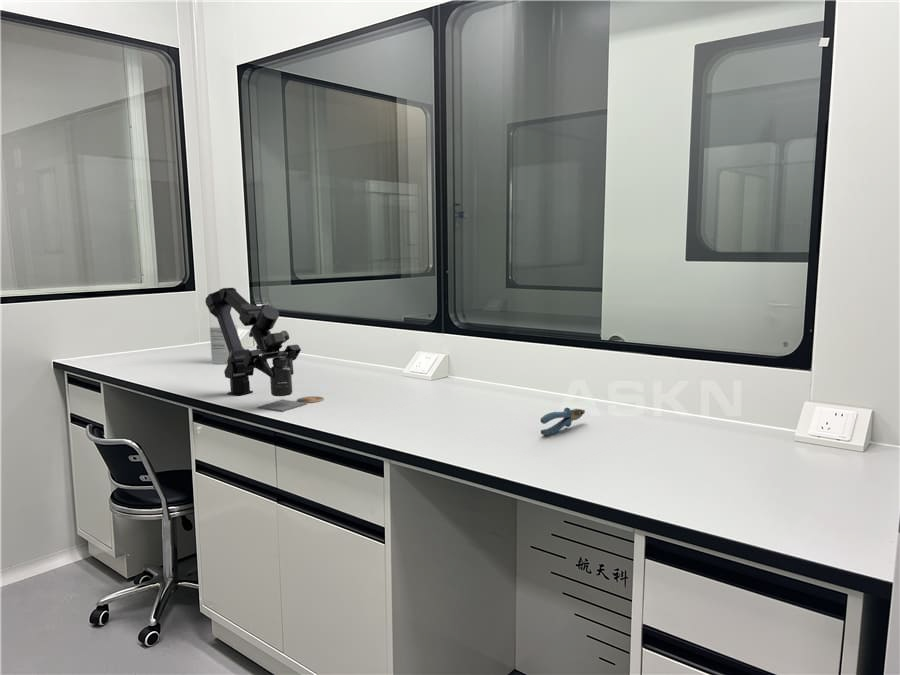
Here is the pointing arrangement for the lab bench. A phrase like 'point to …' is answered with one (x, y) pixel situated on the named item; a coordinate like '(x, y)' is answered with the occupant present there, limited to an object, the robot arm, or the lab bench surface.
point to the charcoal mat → (282, 405)
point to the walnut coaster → (310, 399)
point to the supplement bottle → (281, 377)
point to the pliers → (567, 419)
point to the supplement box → (219, 345)
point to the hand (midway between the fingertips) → (282, 375)
